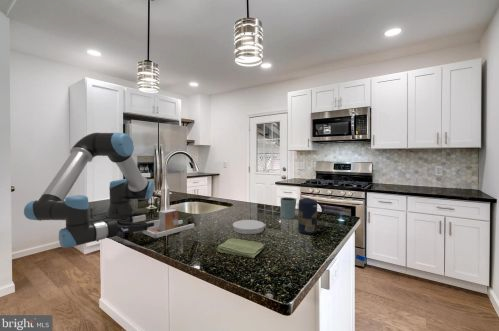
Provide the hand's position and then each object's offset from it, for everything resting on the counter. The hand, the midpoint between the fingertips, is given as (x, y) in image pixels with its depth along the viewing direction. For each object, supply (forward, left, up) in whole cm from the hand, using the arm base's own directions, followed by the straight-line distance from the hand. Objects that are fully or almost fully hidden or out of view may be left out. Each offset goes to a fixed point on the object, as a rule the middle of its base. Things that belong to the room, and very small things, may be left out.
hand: (152, 219), depth 120 cm
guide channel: (0, +10, -7) cm, 12 cm away
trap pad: (0, +2, -7) cm, 8 cm away
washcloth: (+46, +15, -8) cm, 49 cm away
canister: (+56, +55, -8) cm, 79 cm away
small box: (0, +9, -8) cm, 12 cm away
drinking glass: (+33, +74, -8) cm, 81 cm away
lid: (+30, +40, -8) cm, 51 cm away
